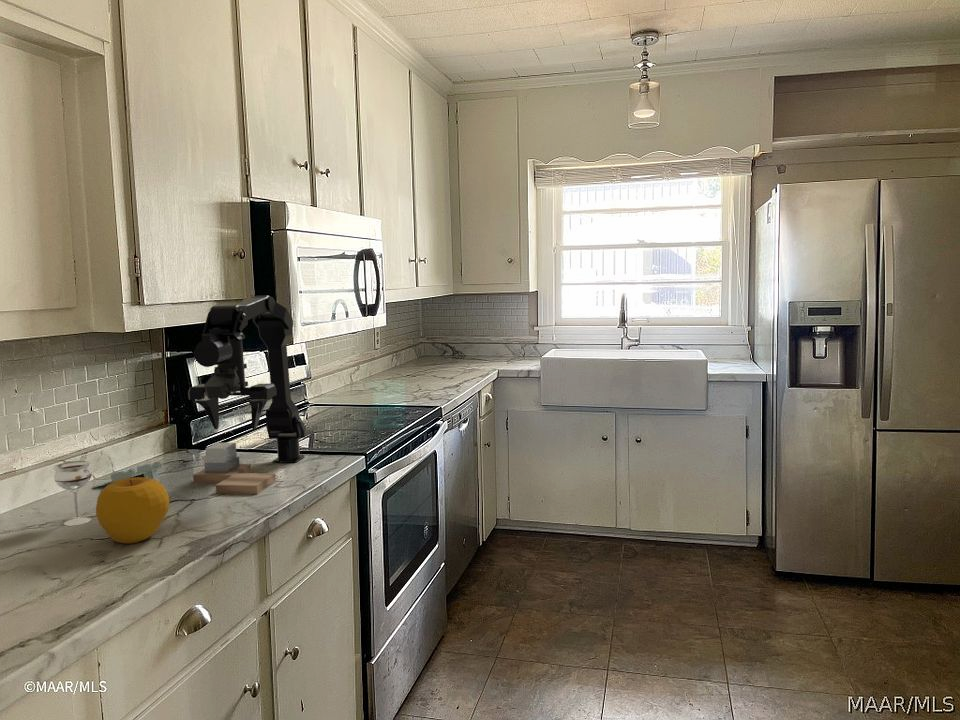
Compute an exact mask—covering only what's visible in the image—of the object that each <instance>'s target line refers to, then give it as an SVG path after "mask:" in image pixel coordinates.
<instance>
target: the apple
mask: <svg viewBox="0 0 960 720" xmlns="http://www.w3.org/2000/svg"><path fill="white" fill-rule="evenodd" d="M170 502H171V501H170V496H169V494H168V491H167V489H166V487H165V486H164V485H163V484H162V483H161V481H160V482H159V481H157V480H156V479H151V478H148V477H147V478H144V477H143V476H140V477H139V476H137V477H136V476H134V477H130V478H126V479H122V480H118V481H116V482H113V483H109V484H106V485H105V487H104V488H103V489H102V490H101V491H100V493H98V496H97V500H96V507H95V515H96V518H97V521H98V523H99V525H100V527H101V528H102V530H104V532H105V533H106V534H107V536H108V537H109V538H110V539H111V540H113V541H114V542H117V543H120V544H129V545H130V544H136V543H139V542H143V541H146V539H148V538H149V537H151V536H153V535H154V534H155V533H157V531H158V530H159V528H160V526H161V524H162V523H163V522H164V519H165V517H166V515H167V514H168V512H169V508H170Z"/></svg>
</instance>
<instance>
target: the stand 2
mask: <svg viewBox="0 0 960 720" xmlns="http://www.w3.org/2000/svg"><path fill="white" fill-rule="evenodd" d="M276 478H277V477H276V473H274V472H271V473H268V472H266V473H265V472H264V473H262V472H261V473H259V472H251V473H235V474H233V475H232V476H230V477H228V478H227V479H225V480H223V481H222V482H220V483H215V493H216V494H225V495H230V494H231V495H232V494H233V495H236V494H237V495H258V494H260V493H262V492H263V491H264V490H266V489H267V488H268V487H270V486H271V485H273V484H275V483H276V482H277V481H276V480H277V479H276Z"/></svg>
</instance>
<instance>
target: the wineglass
mask: <svg viewBox="0 0 960 720" xmlns="http://www.w3.org/2000/svg"><path fill="white" fill-rule="evenodd" d="M89 465H91V461H89V460H73V461H66V462H62V463H58V464H55V465H54V466H53V469H54V471H55V472H54V475H53V479H54V481H55V483H56V485H57V486H59V487H60V488H61V489H64V490H68V491H70V492H71V493H72V499H73V505H74V510H75V511H74V512H75V517H74V518H71V519H68V520H66V521H65V522H63V525H65V526H70V527H71V526H80V525H83V524H86V523H89V522H91V520H92V518H90V517H87V516H86V517H80V516H79V506H78V504H79V503H78V492H80V491H79V490H80V489H81V488H83V487H84V486H86V485H87V484H88V483H89V482H90V480H91V477H92V470H91V468H90V466H89Z"/></svg>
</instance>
